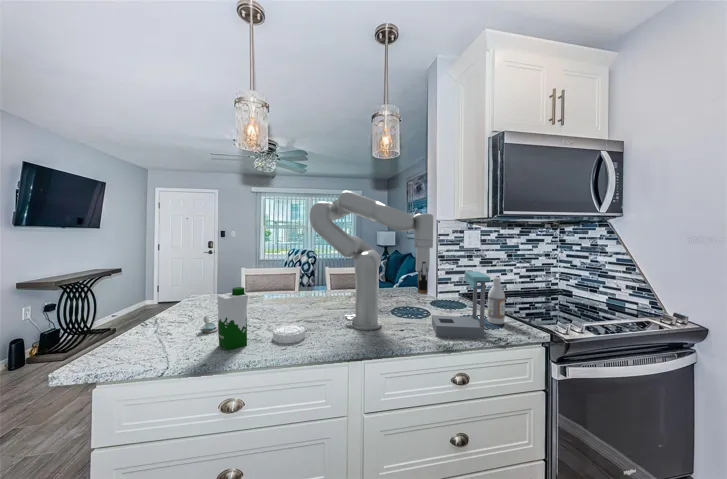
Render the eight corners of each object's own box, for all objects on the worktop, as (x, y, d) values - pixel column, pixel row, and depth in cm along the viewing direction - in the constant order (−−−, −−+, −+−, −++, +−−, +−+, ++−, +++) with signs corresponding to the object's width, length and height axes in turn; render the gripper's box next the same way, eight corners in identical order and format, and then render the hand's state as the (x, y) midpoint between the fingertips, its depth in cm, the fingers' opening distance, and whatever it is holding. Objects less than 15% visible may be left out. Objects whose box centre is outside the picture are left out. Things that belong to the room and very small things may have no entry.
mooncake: (305, 342, 112) (305, 333, 112) (271, 345, 110) (271, 335, 110) (305, 331, 124) (305, 322, 124) (274, 333, 122) (274, 324, 121)
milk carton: (250, 345, 109) (250, 289, 108) (224, 352, 102) (223, 293, 101) (240, 338, 115) (240, 285, 114) (215, 345, 109) (214, 289, 108)
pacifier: (220, 327, 128) (204, 328, 126) (220, 312, 127) (204, 313, 126) (215, 333, 121) (198, 334, 119) (216, 318, 120) (199, 318, 119)
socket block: (436, 336, 119) (436, 325, 119) (431, 324, 133) (431, 315, 133) (484, 338, 118) (484, 327, 117) (474, 326, 132) (474, 316, 131)
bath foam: (498, 325, 133) (499, 279, 132) (484, 321, 138) (485, 277, 138) (507, 322, 136) (508, 278, 136) (493, 318, 142) (494, 276, 141)
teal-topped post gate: (472, 338, 118) (473, 276, 117) (463, 325, 133) (464, 271, 131) (488, 338, 117) (490, 277, 116) (477, 325, 132) (479, 271, 131)
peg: (417, 293, 124) (418, 269, 124) (417, 291, 128) (417, 267, 127) (428, 294, 124) (428, 269, 123) (427, 291, 127) (427, 267, 127)
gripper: (413, 242, 134) (412, 284, 134) (415, 245, 117) (414, 292, 118) (430, 243, 133) (429, 285, 134) (435, 245, 116) (434, 293, 117)
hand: (422, 288), depth 126 cm, fingers closed on peg, 4 cm apart
